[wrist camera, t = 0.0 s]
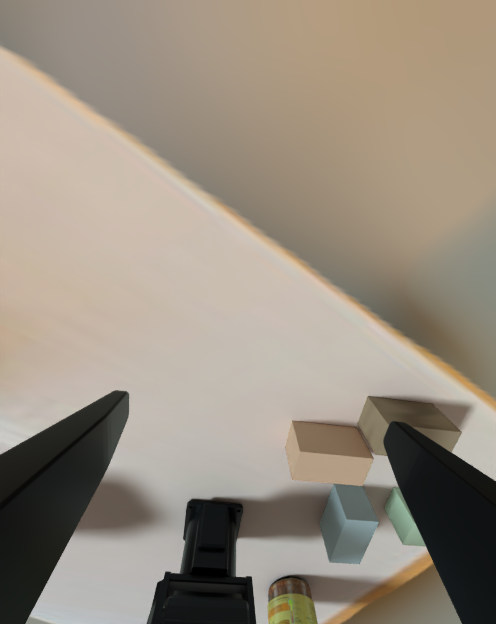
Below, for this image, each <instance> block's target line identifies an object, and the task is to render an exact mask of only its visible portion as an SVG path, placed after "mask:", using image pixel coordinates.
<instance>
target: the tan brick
mask: <svg viewBox="0 0 496 624" xmlns="http://www.w3.org/2000/svg"><path fill="white" fill-rule="evenodd" d="M285 448H286V453H287V458H288V463H289V468H290V473H291V478H292V480H299V481H311V482H322V483H333V484H344V485H356V486H363V484H364V482H365V479H366V477H367V474H368V472H369V469H370V467H371V464H372V462H373V459H374V458H373V456H372V455H371V453H370V451H369V449H368V448H367V446H366V444H365V442H364V440H363V439H362V437H361V435H360V433H359V431H358V430H357V428H355V427H346V426H336V425H327V424H317V423H308V422H298V421H292V423H291V427H290V431H289V434H288V438H287V442H286V446H285Z"/></svg>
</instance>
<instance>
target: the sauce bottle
mask: <svg viewBox="0 0 496 624" xmlns="http://www.w3.org/2000/svg"><path fill="white" fill-rule="evenodd" d="M268 602H269V603H268V607H267V608H268V623H269V624H318V623H317V618H316V613H315V607H314V602H313V601H312V598H311V592H310V588H309V586H308V584H307V583H306V582H305V581H303V580H300V579H296V578H287V579H281V580H279V581H277V582H275V583H274V584H272V585H271V586H270V588H269V594H268Z"/></svg>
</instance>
